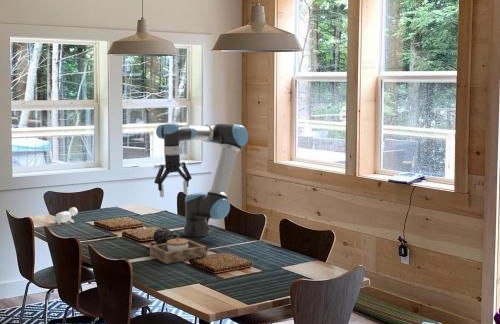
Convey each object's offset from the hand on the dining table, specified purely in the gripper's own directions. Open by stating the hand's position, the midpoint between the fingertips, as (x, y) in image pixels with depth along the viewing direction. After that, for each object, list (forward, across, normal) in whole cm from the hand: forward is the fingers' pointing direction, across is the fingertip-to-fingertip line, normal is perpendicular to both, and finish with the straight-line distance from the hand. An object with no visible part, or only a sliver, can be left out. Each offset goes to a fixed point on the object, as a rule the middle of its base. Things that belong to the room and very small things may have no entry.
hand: (173, 195), depth 372 cm
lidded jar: (+28, -6, -13) cm, 32 cm away
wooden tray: (+28, -6, -13) cm, 31 cm away
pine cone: (+29, -1, +6) cm, 29 cm away
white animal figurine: (+29, -23, +97) cm, 104 cm away
